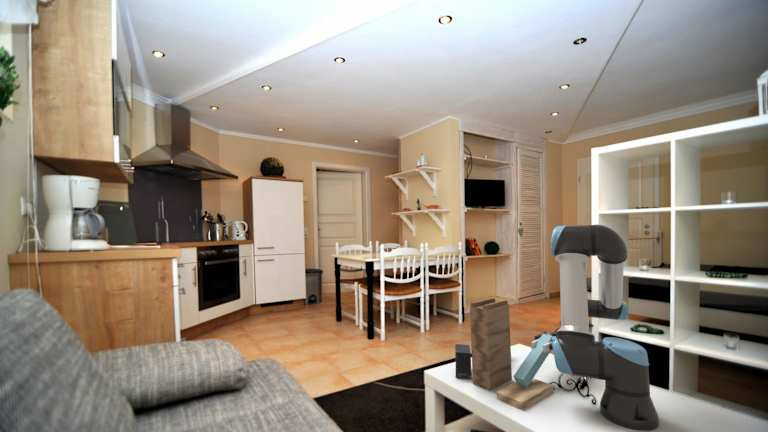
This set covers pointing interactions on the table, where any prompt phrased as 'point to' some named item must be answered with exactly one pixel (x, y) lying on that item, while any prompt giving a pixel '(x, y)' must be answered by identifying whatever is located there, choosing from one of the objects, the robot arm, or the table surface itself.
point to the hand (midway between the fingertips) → (537, 347)
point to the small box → (463, 361)
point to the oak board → (524, 394)
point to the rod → (532, 362)
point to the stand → (490, 343)
